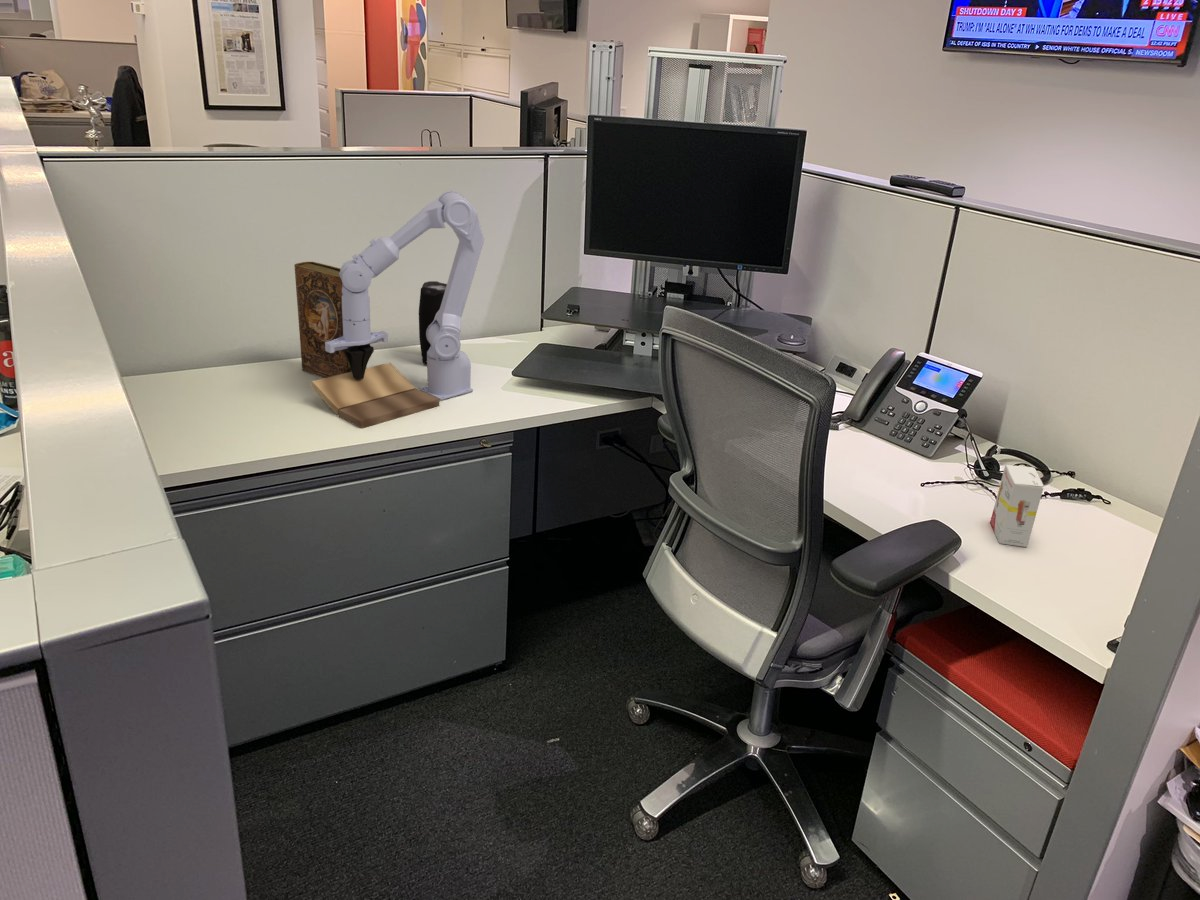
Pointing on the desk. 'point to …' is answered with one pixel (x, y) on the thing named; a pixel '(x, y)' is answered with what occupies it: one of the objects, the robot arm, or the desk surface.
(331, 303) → the book
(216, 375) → the desk surface
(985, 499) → the desk surface
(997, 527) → the ink box
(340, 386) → the oak plank
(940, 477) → the desk surface
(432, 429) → the desk surface
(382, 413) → the walnut strip
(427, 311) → the portable speaker
